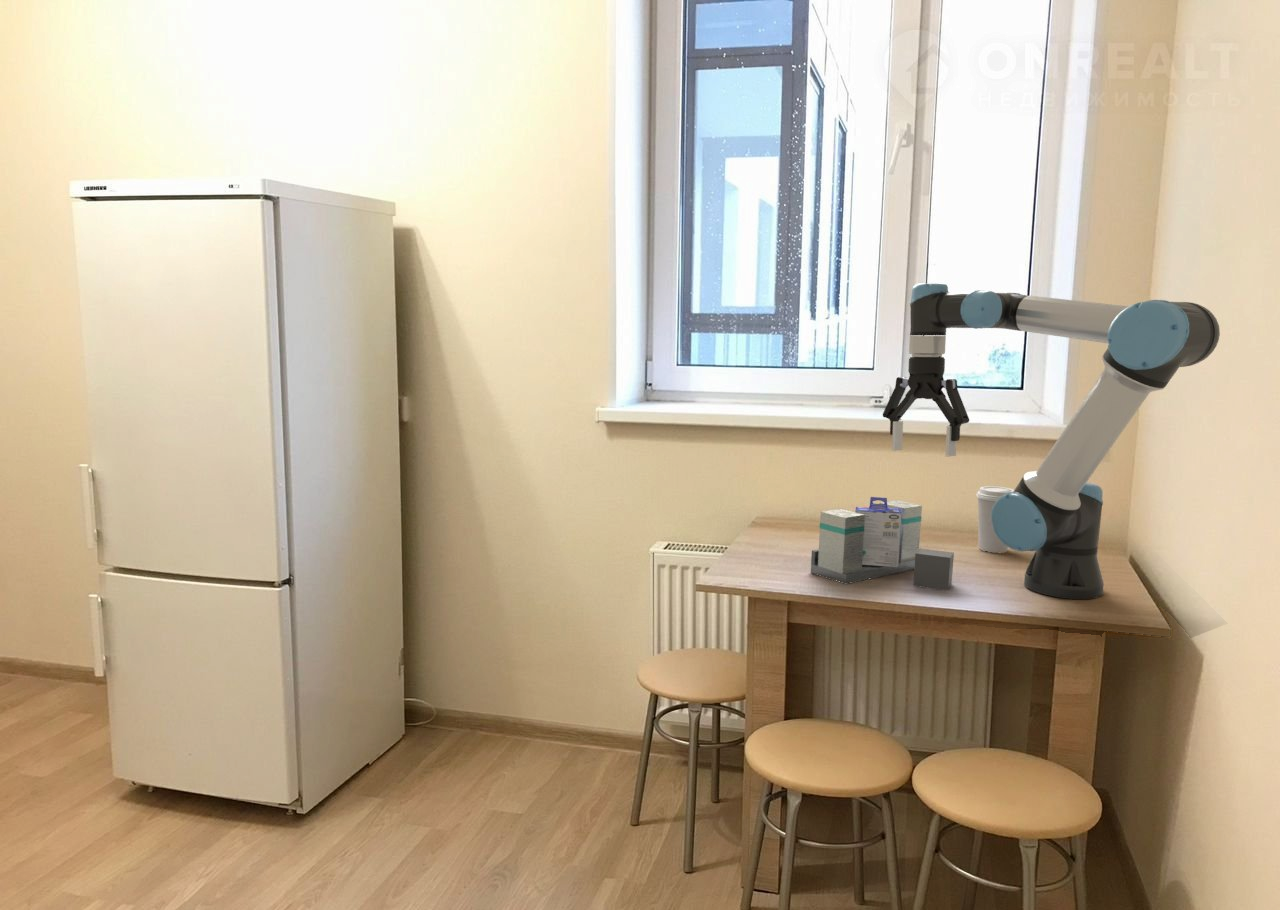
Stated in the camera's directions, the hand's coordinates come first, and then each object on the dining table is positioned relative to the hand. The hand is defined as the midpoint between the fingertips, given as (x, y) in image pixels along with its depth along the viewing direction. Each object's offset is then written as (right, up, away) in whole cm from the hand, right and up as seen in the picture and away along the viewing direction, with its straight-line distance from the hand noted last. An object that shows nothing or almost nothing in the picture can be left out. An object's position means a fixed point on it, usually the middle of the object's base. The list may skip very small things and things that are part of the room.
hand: (923, 453), depth 209 cm
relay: (-1, -28, -9) cm, 29 cm away
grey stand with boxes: (-12, -26, +2) cm, 29 cm away
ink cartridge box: (-11, -24, -1) cm, 27 cm away
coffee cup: (+24, -24, +22) cm, 40 cm away
